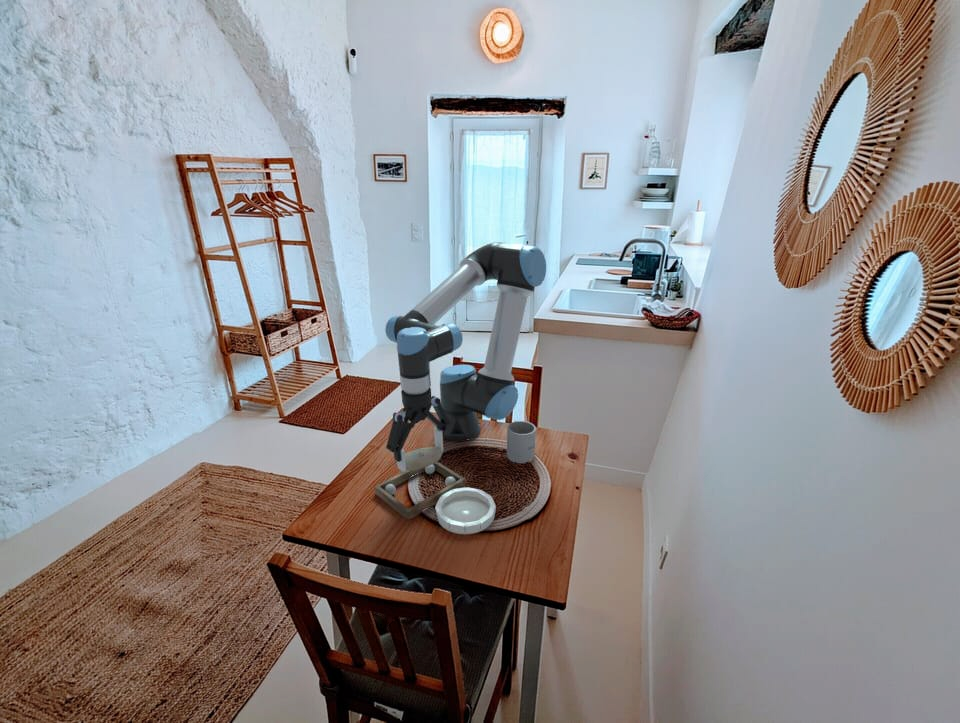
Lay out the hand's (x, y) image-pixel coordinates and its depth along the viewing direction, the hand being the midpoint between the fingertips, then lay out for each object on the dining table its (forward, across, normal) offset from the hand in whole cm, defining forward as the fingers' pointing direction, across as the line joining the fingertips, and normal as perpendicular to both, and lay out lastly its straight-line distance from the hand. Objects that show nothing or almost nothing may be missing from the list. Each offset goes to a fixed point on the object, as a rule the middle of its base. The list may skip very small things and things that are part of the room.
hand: (421, 459), depth 128 cm
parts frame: (+10, +1, 0) cm, 10 cm away
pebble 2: (+10, -6, +5) cm, 12 cm away
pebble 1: (+9, +8, -4) cm, 13 cm away
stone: (+2, 0, 0) cm, 2 cm away
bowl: (+10, -1, +16) cm, 19 cm away
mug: (+11, -34, +8) cm, 37 cm away
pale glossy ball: (+10, -6, -4) cm, 12 cm away
